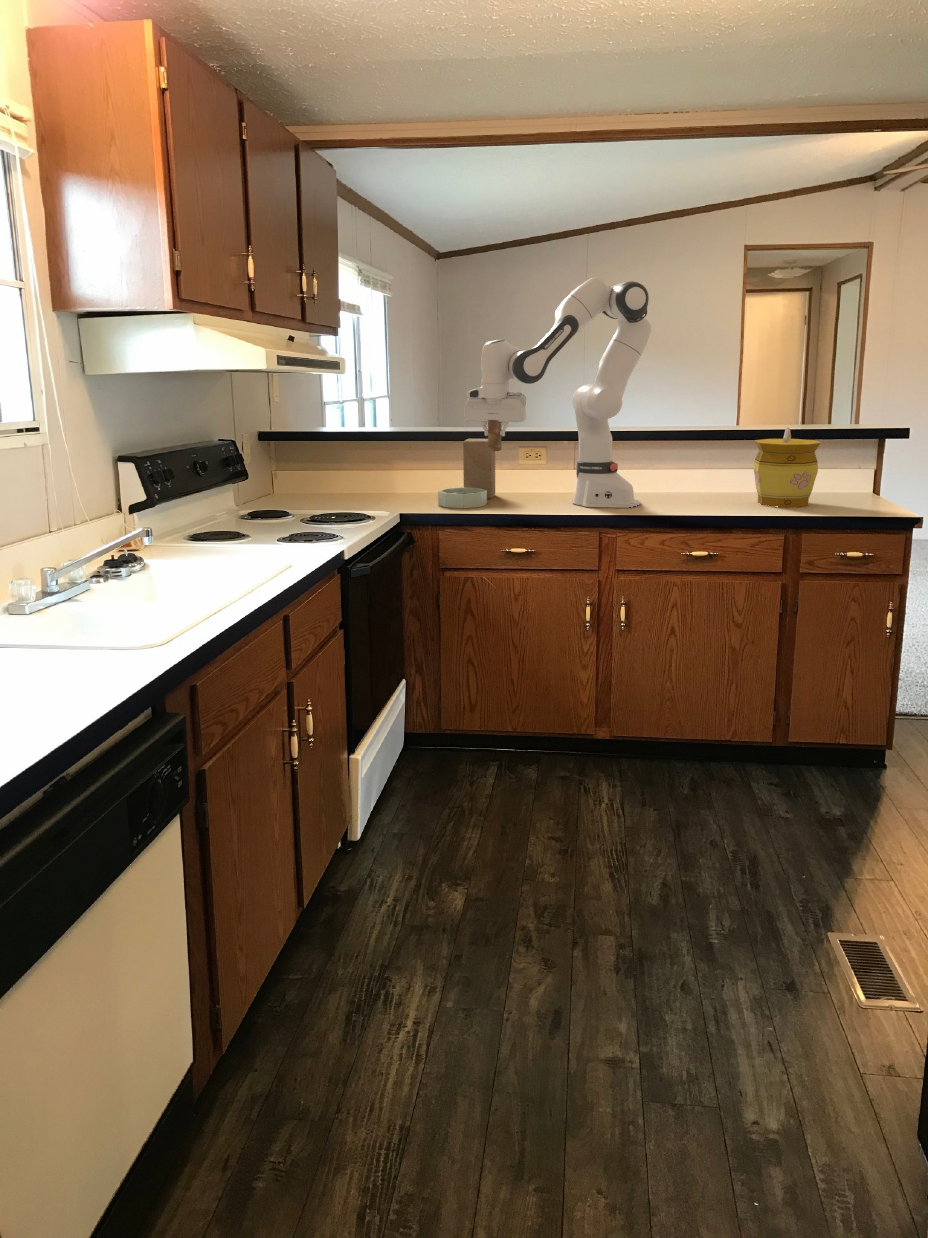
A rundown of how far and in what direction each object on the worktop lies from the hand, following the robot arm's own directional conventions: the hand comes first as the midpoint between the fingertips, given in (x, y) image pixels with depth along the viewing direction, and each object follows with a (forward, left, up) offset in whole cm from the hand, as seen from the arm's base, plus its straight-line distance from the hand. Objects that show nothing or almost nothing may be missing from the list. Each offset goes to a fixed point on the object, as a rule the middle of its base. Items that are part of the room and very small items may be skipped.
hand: (494, 435), depth 320 cm
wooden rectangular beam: (0, 0, -5) cm, 5 cm away
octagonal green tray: (+13, -4, -23) cm, 27 cm away
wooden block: (+13, -22, -24) cm, 35 cm away
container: (-89, -34, -24) cm, 98 cm away
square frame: (+13, -4, -23) cm, 27 cm away
